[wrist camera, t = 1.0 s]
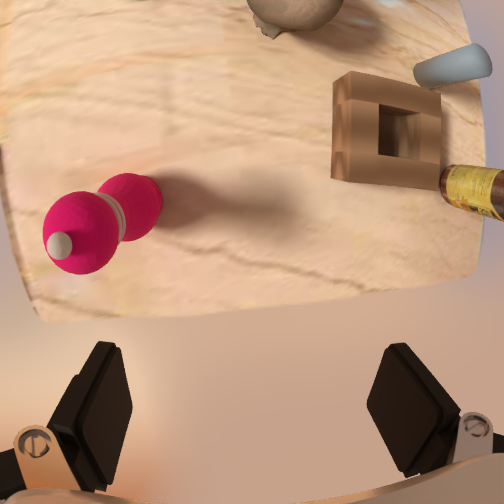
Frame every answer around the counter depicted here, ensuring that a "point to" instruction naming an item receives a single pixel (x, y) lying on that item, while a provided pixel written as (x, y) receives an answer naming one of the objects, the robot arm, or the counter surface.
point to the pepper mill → (100, 222)
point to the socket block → (385, 132)
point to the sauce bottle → (474, 189)
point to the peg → (454, 67)
